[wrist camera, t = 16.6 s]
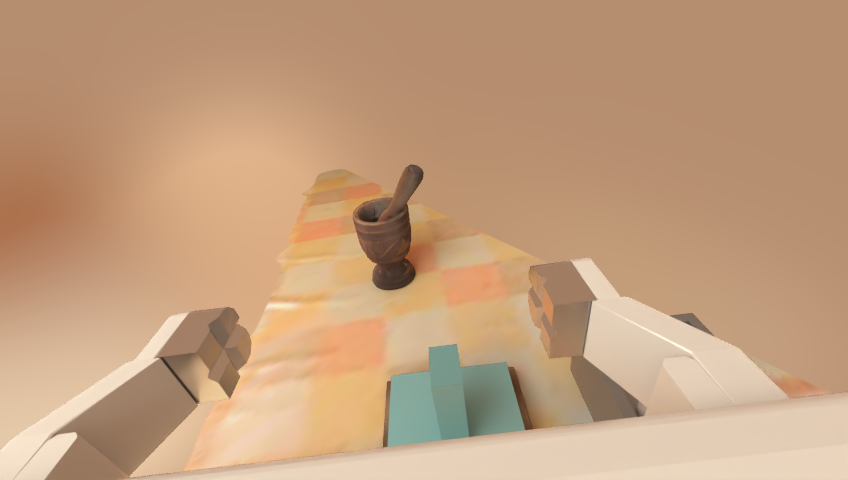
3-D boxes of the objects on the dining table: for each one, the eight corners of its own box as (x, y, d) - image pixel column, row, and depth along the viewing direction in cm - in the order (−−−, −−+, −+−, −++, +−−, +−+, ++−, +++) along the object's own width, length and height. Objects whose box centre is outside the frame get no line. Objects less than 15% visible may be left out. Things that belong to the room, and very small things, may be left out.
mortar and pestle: (434, 255, 64) (418, 149, 54) (440, 285, 57) (423, 168, 46) (371, 266, 64) (343, 161, 54) (370, 297, 57) (337, 183, 46)
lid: (542, 507, 29) (549, 434, 24) (388, 522, 30) (358, 454, 24) (506, 374, 40) (504, 302, 35) (394, 387, 41) (374, 318, 35)
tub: (765, 470, 30) (799, 425, 27) (623, 484, 31) (638, 441, 27) (676, 357, 40) (692, 313, 37) (570, 369, 41) (576, 327, 37)
